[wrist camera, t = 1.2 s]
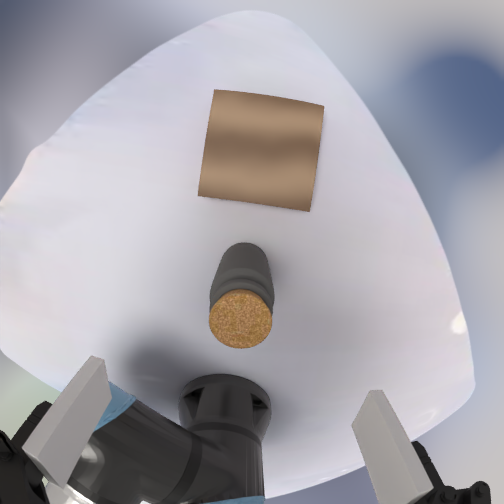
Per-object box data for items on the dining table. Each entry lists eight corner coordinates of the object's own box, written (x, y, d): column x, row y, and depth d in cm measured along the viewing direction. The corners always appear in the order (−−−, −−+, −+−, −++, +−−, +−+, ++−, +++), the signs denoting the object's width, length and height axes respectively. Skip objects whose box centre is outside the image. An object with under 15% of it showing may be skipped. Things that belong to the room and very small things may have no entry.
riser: (302, 208, 33) (309, 211, 29) (203, 194, 32) (197, 195, 28) (316, 114, 30) (324, 106, 26) (218, 99, 29) (214, 89, 26)
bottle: (273, 248, 34) (290, 297, 19) (260, 291, 35) (266, 361, 21) (227, 236, 34) (209, 277, 19) (216, 280, 35) (194, 344, 20)
